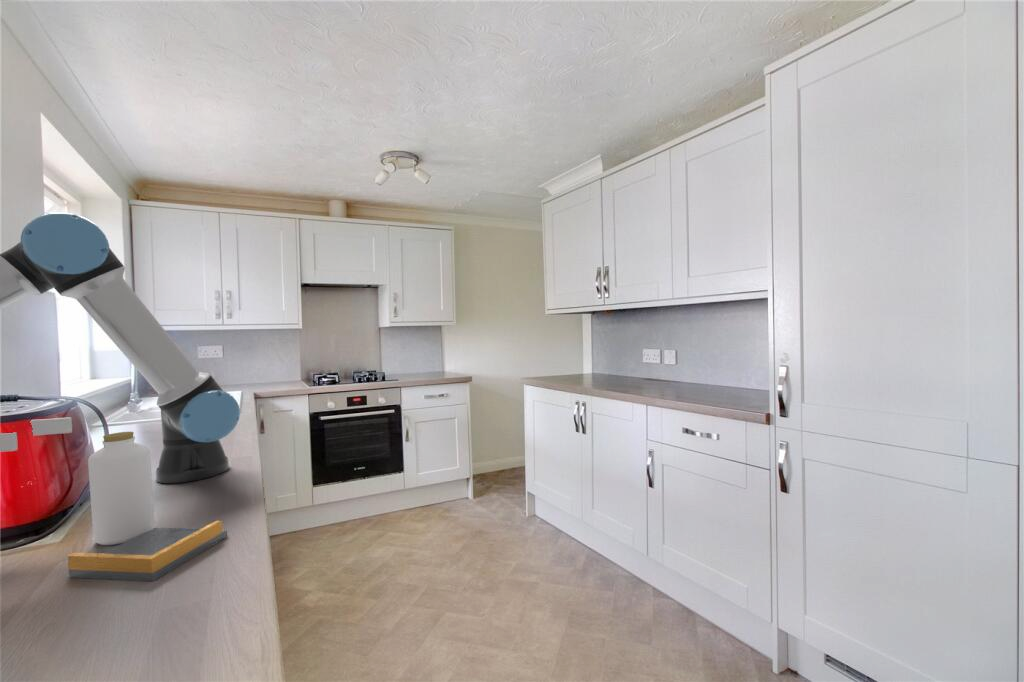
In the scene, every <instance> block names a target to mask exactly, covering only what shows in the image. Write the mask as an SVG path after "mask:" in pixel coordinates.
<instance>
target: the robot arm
mask: <svg viewBox="0 0 1024 682" xmlns="http://www.w3.org/2000/svg"><path fill="white" fill-rule="evenodd" d="M125 270H126V267H125V265H123V263H122V262H121V260H119V258H118V257H117V255H116V254H115V253H114V251H112V249H111V248H110V244H109V241H108V238H107V236H106V235H105V232H104V231H103V230H102V229H101V228H100V227H99V226H98V225H97V224H96V223H94V222H93V221H91V220H89V219H88V218H86V217H84V216H81V215H77V214H75V213H71V212H70V213H69V212H59V211H58V212H50V213H45V214H43V215H40V216H38V217H35V218H34V219H33V220H31V221H30V222H28V223H27V224H26V225H25V226H24V227H23V230H22V231H21V235H20V242H18V243H17V244H15V245H14V246H13V247H11V248H9V249H7V250H5V251H3V252H2V253H0V310H1V309H3V308H6V307H8V306H9V305H11V304H13V303H16V302H17V301H19V300H20V299H23V298H25V297H27V296H29V295H30V296H31V295H35V296H40V295H42V294H45V293H46V292H48V291H50V290H53V289H55V291H56V292H57V293H58V294H59V295H60V296H61V297H65V298H66V297H67V298H71V299H74V300H76V301H77V303H78V304H80V306H82V308H83V309H84V311H86V312H87V313H88V315H90V317H91V318H92V319H93V321H95V323H96V324H97V325H98V326H99V327H100V328H101V330H102V331H103V332H104V333H105V334H106V335H107V337H108V338H109V339H110V340H111V341H112V343H114V345H115V346H116V347H117V348H118V349H119V350H120V351H121V352H122V354H123V355H124V356H125V357H126V358H127V359H128V361H129V362H130V363H131V365H133V366H134V368H135V369H136V370H137V371H138V372H139V373H140V375H141V376H142V377H143V378H144V379H145V380H146V381H147V382H148V383H149V385H150V386H151V387H152V389H154V391H155V392H156V393H157V394H158V395H157V401H156V405H157V406H158V408H159V410H160V417H161V419H160V420H161V429H162V433H161V434H162V446H163V447H162V451H161V455H160V458H159V463H158V467H157V468H156V471H155V475H156V476H155V479H156V482H157V483H161V484H179V483H181V484H182V483H187V482H192V481H199V480H204V479H207V478H211V477H215V476H217V475H220V474H222V473H225V472H226V471H228V470H229V467H230V464H229V458H228V456H227V455H226V453H225V450H224V448H223V444H222V443H221V439H223V438H225V437H227V436H228V435H230V434H231V433H232V432H233V430H234V429H236V427H237V425H238V422H239V420H240V416H241V411H240V410H241V409H240V404H239V403H238V401H237V400H236V399H235V397H234V396H233V395H231V394H230V393H228V392H226V391H225V390H223V388H222V387H221V386H220V384H218V382H217V381H216V380H215V379H214V377H212V375H211V374H210V373H209V372H204V371H199V370H198V369H197V368H196V366H195V365H193V363H192V362H191V361H190V360H189V358H188V357H187V356H186V355H185V353H184V352H183V351H182V350H181V348H180V347H179V346H178V345H177V343H176V342H175V341H174V340H173V338H172V337H171V335H169V333H168V332H167V331H166V330H165V329H164V327H163V326H162V325H161V323H159V321H158V320H157V319H156V317H155V316H154V315H153V314H152V313H151V311H150V310H149V309H148V307H147V306H146V305H145V303H143V301H142V300H141V299H140V298H139V296H138V295H137V294H136V293H135V291H134V290H133V289H132V288H131V287H130V285H129V284H128V282H127V281H126V280H125V279H124V274H125ZM72 419H73V418H72V417H57V418H43V419H41V418H40V419H39V418H38V419H32V420H31V421H30V423H31V425H32V428H33V430H32V432H33V436H32V437H34V436H46V435H57V434H71V433H73V420H72ZM18 447H19V446H18V436H17V432H13V433H0V453H4V452H14V451H18V450H19V449H18Z"/></svg>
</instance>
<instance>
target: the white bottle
mask: <svg viewBox="0 0 1024 682" xmlns="http://www.w3.org/2000/svg"><path fill="white" fill-rule="evenodd" d="M134 434H135V433H134V431H120V432H114V433H109V434H105V435H103V436H102V438H103V440H102V445H103V447H102V448H100V449H99V450H97V451H95V452H93V453H92V454H91V455H90V456H89V457H88V460H87V464H88V478H89V479H88V481H89V494H90V505H91V508H90V509H91V522H92V535H93V537H92V538H93V541H94V542H95V543H97V544H99V545H101V546H112V545H121V544H123V543H125V542H127V541H129V540H131V539H133V538H135V537H137V536H139V535H141V534H144V533H146V532H148V531H150V530H152V529H154V528H155V526H156V519H155V504H154V503H155V502H154V489H153V486H154V485H153V476H152V475H153V472H152V457H151V455H152V454H151V450H150V448H149V447H148V446H147V445H145V444H142V443H136V442H135V440H136V436H134Z"/></svg>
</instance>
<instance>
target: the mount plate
mask: <svg viewBox="0 0 1024 682" xmlns="http://www.w3.org/2000/svg"><path fill="white" fill-rule="evenodd" d="M225 537H226V538H227V537H228V529H223V521H222V520H215V521H213V522H211V523H209V524H207V525H205V526H204V527H202V528H175V527H174V528H173V527H171V528H169V527H154V528H153V529H152V530H150V531H148V532H146V533H144V534H141V535H139V536H137V537H135V538H133V539H131V540H129V541H127V542H125V543H120V544H117V546H115V547H112V548H111V549H108V550H106V551H103V552H102V553H96V552H74V553H71V554H68V555H67V563H68V577H69V578H73V579H76V578H77V579H95V580H96V579H97V580H112V581H113V580H114V581H115V580H117V581H118V580H119V581H120V580H121V581H139V582H155V581H157V580H158V579H159V578H162V577H163V576H164V575H166V574H167V573H170V572H171V571H173V570H174V569H176V568H178V567H179V566H182V565H183V564H185V563H186V562H188V561H190V560H191V559H194V558H195V557H196V556H198V555H199V554H201V553H203V552H205V551H206V550H207V548H208V547H209V548H211V547H213V546H214V545H216V544H217V543H216V542H218V541H219V542H221V541H223V540H224V539H226V538H225ZM223 538H224V539H223ZM222 539H223V540H222ZM220 540H221V541H220ZM219 542H218V543H219ZM215 543H216V544H215ZM213 544H214V545H213ZM212 545H213V546H212ZM210 546H211V547H210ZM209 548H208V549H209ZM205 549H206V550H205ZM202 551H203V552H202Z"/></svg>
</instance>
